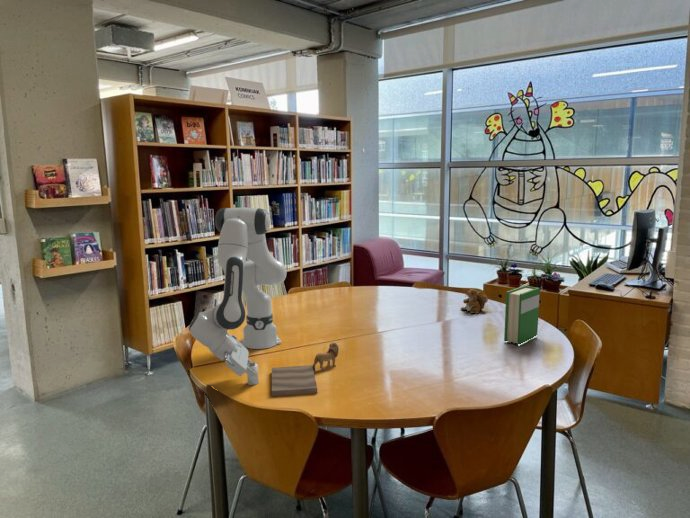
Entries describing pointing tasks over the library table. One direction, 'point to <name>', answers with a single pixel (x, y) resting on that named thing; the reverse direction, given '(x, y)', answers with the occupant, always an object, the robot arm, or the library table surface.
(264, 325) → the robot arm
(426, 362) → the library table surface
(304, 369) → the display block
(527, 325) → the hardback book
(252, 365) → the connector casing
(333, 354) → the lion figurine
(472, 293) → the stuffed squirrel
